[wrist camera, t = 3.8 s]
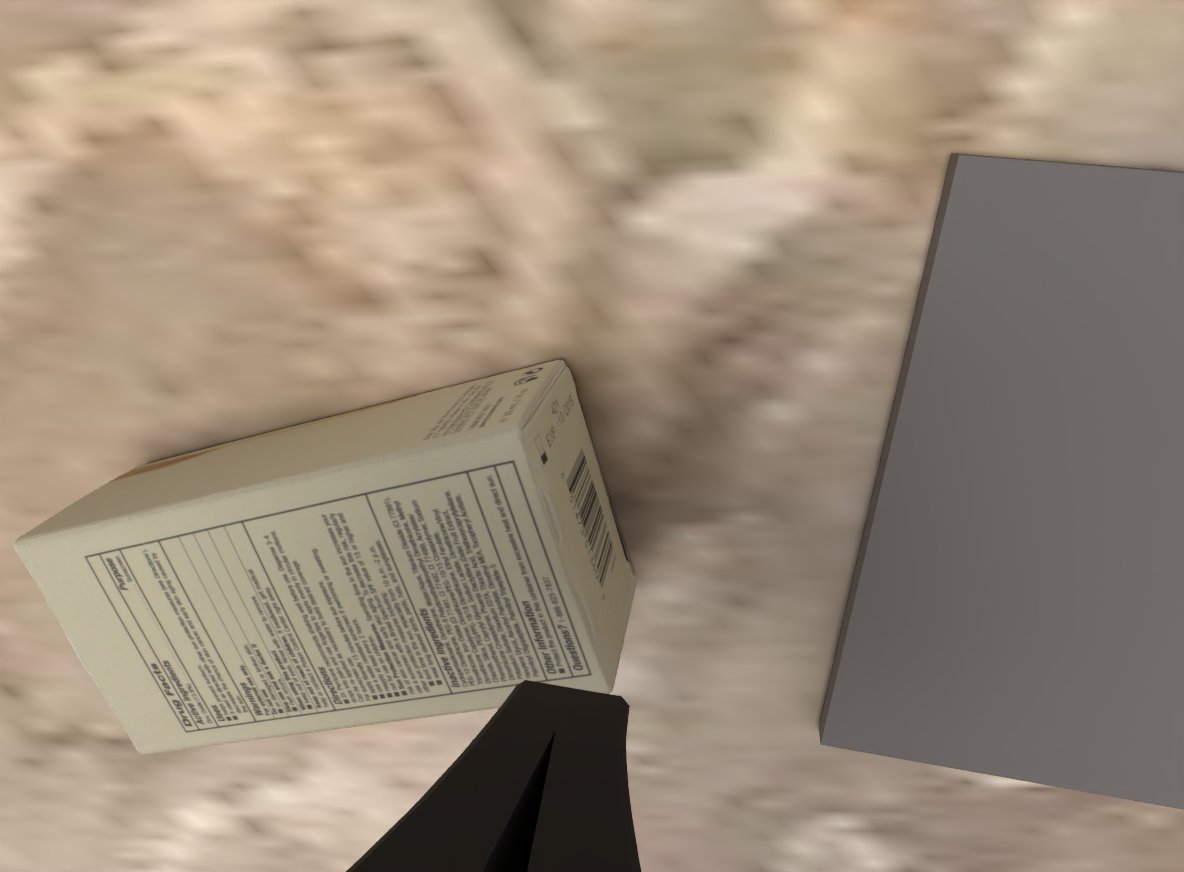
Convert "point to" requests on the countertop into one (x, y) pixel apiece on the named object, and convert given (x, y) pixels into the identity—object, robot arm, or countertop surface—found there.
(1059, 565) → the mat
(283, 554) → the skincare box
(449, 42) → the countertop surface
